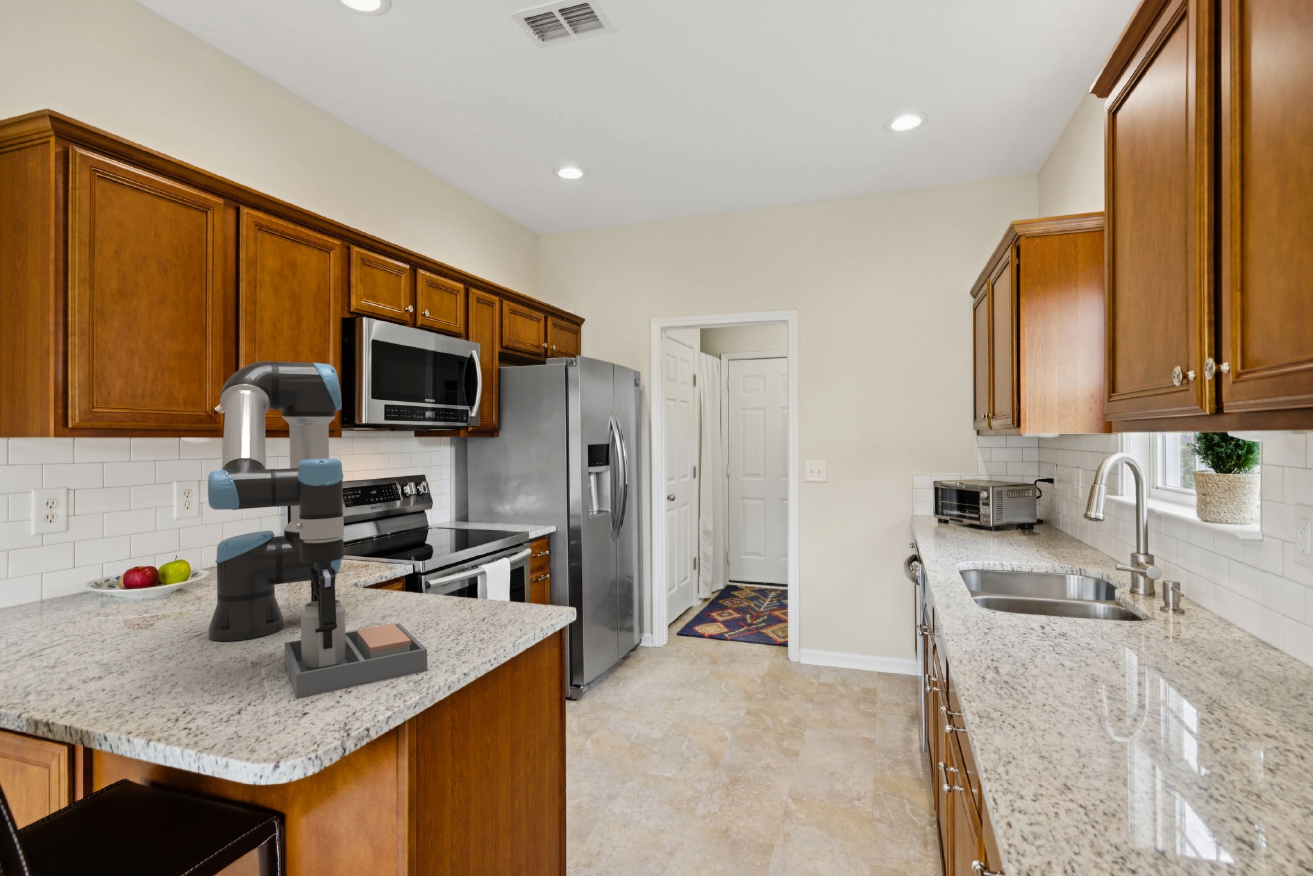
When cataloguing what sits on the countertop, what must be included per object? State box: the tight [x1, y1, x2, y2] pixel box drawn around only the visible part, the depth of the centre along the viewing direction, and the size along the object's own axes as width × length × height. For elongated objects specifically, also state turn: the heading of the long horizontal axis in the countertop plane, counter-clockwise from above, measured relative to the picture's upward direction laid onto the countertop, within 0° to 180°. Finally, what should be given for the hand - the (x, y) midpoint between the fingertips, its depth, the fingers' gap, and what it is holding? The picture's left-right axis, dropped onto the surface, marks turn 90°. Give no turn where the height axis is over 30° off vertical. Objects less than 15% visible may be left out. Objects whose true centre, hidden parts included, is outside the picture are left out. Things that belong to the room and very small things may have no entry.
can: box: [300, 599, 346, 670], centre depth 124 cm, size 8×8×12 cm
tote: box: [283, 623, 428, 699], centre depth 127 cm, size 22×22×5 cm
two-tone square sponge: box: [355, 623, 411, 660], centre depth 130 cm, size 14×7×5 cm, turn 35°
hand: (324, 658), depth 124 cm, fingers closed on can, 7 cm apart
